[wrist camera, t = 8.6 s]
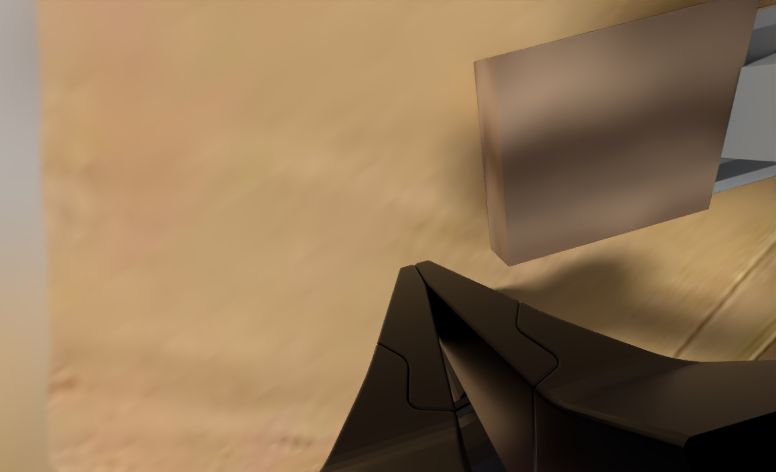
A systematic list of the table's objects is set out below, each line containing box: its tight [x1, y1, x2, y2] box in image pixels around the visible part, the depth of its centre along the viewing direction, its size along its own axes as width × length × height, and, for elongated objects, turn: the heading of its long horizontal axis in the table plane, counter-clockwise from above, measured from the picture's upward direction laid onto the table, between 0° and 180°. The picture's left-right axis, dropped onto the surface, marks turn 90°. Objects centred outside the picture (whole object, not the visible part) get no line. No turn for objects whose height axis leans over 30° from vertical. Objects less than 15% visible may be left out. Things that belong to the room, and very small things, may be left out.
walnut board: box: [474, 0, 760, 266], centre depth 19 cm, size 12×14×2 cm
